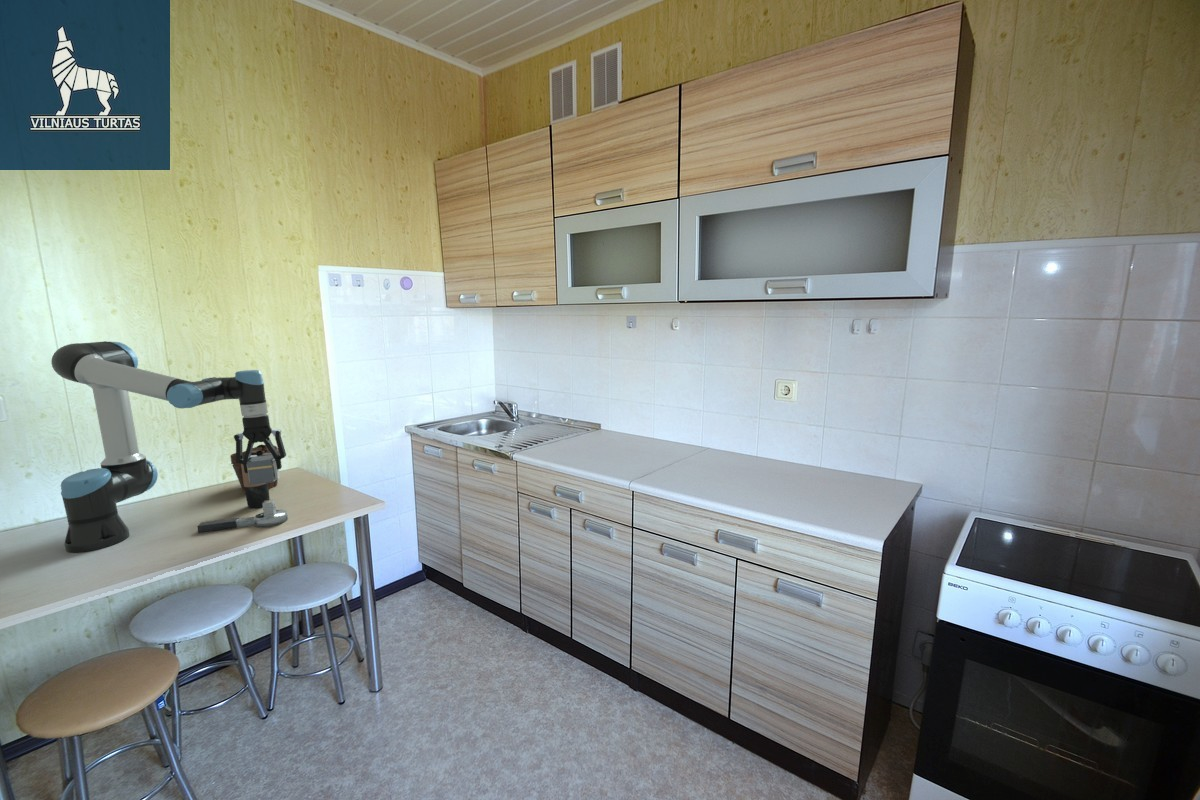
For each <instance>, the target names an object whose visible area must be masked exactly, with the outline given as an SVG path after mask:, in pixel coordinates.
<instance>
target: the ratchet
mask: <svg viewBox="0 0 1200 800" xmlns="http://www.w3.org/2000/svg"><path fill="white" fill-rule="evenodd" d="M262 505H263V507H262V510H263V512H260V513H258V514H255V515H254V516H250V517H249V516H248V517H243V518H240V517H233V518H231V517H230V518H225V519H216V520H210V521H202V522H200V523H199V524H198V525H197V533H198V534H203V533H211V532H217V531H218V532H219V531H224V530H233V529H239V528H243V527H255V528H260V529H262V528H271V527H276V526H278V525H281V524H283V523H285V522H287V521H288V519H289V518H288V512H287V510H286V509H277V507H276V501H275V499H270V500H267V501H264V502H263V503H262Z"/></svg>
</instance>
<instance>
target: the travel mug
mask: <svg viewBox="0 0 1200 800" xmlns="http://www.w3.org/2000/svg"><path fill="white" fill-rule="evenodd" d="M242 456H243V459H244V456H245V455H242ZM258 456H264V454H263V453H251V455H250V459H251V458H252V457H258ZM250 459H249V460H250ZM241 468H242V475H243V483H244V489H245V491H244V494H245V497H246V503H247V508H248V509H253V510H254V509H261V508H263V505H262V503H263V502H264V501H267V500H271V499H270V491H269V490H270V488H269V489H268V483H261V484H253V485H250V482H249V476H248V473H245V472H244V465H243V464H242V463H241Z"/></svg>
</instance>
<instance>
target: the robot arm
mask: <svg viewBox="0 0 1200 800" xmlns="http://www.w3.org/2000/svg"><path fill="white" fill-rule="evenodd" d="M50 362H51V368H52V370H54V372H55V373H56V374H57V375H58V376H60V377H62V378H63V379H65V380H68V381H70V382H71V381H72V382H75V383H80V384H83V385H86V386H88V387H90V388H91V389H92V393H93V399H94V404H95V409H96V414H97V420H98V426H99V430H100V436H101V440H102V446H103V452H104V456H105V458H104V459H103V460H102V461H101V462H100V467H99V468H90V469H87V470H85V471H79V472H76V473H73V474H71V475H68V476H67V477H65V478H64V479H63V480H62V481H61V484H60V491H61V492H60V495H61V497H62V503H63V505H64V510H65V515H66V519H67V522H68V528H67V531H66V536H65V539H64V548H65V551H66V552H68V553H83V552H84V553H85V552H90V551H95V550H99V549H104V548H107V547H110V546H113V545H115V544H118V543H120V542H123V541H124V540H127V539H128V538H129V537H130V530H129V528H128V526H127V524H126V523H125V522H124V520H123V519H122V518H121V516H120V515H119V513H118V512H119V511H118V507H117V506H118V505H117V503H121V502H124V501H126V500H129V499H131V498H134V497H136V496H139V495H142V494H143V493H145V492H148V491H150V490H151V489H152V488H153V487H154V486H155V484H156V483H157V481H158V475H159V474H158V469H157V467H156V466H155V465H154V464H153V462H152V461H150V460H148V459H147V458H146V455H144V454H142V453H141V452H140V449H139V446H138V445H139V444H138V439H137V434H136V428H135V427H136V426H135V423H134V422H135V421H134V418H133V413H132V412H133V411H132V410H133V409H132V406H131V401H130V395H129V392H130V393H134V394H139V395H142V396H147V397H150V398H156V399H158V400H161V401H162V400H163V401H168V403H169V404H170V405H172V406H173V408H177V409H190V408H191V409H192V408H195V407H197V406H201V405H206V404H211V403H215V402H219V401H224V400H225V401H227V400H238V401H239V405H240V413H241V416H242V426H243V431H242V432H240V433H236V434H234V435H233V438H234V441H235V453H236V462H237V463H242V464H243V465H244V472H245V473H248V466H247V462H248V461H249V459H250V455H251V452H252V448H254V445H255V444H257V443H263V445H266V446H267V448H268V449H269V451H270V452H271V454H272V456H273V457H274V459H275V460H274V461H273V465H274V472H275V479H278V480H279V479H280V478H281V475H280V474H281V473H280V470H281V469H282V459H284V458H286V456H287V453H286V450H285V445H284V442H283V439H282V437H281V436H282V429H273V428H272V427H271V424H270V419H269V415H268V412H269V411H268V405H267V399H266V392H265V381H264V378H263V374H262V372H261V371H260V370H259V369H258V370H257V369H250V370H248V369H246V370H245V369H244V370H239V371H236V372H235V373H234V375H235V376H230V377H229V376H228V377H227V376H226V377H216V376H214V377H206V378H202V379H201V380H197V381H189V380H185V379H181V378H178V377H174V376H169V375H167V374H162V373H158V372H153V371H150V370H145V369H141V368H138V366H139V360H138V357H137V354H136V353H135V351H134V350H133V349H132V348H131V347H129V346H128V345H127V344H125V343H123V342H118V341H106V340H104V341H95V342H93V341H92V342H80V343H78V342H77V343H76V342H75V343H70V344H66V345H63V346H61V347H60V348H58V349H57V350H56V351H55V352H54V353H53V355H52V357H51V361H50ZM271 434H272V436H273V437H274V439H275V442H276V447H278V450H279V453H280V455H279V453H278V452H277V450H276V449H275V447H274V446H275V445H274V444H273V442H272V439H271V438H270V436H271ZM244 437H245V438H246V439H247V440H248V441H247V445H246V450H245V451H246V452H245V456H244V459H243V456H242V452H243V439H244ZM248 476H249V473H248ZM249 482H250V479H249Z"/></svg>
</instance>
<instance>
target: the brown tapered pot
mask: <svg viewBox="0 0 1200 800" xmlns="http://www.w3.org/2000/svg"><path fill="white" fill-rule="evenodd" d="M274 447H275V449H276V450H277V452H278V453H279V450H278V446H277V445H274ZM245 452H246V450H245V451H242V455H245ZM251 453H263V454H264V456H267V455H272V454H271V452H270V451H269V449H268V448H267V446H266V445H265V444H259V445H257V446H255V447H253V448H252V452H251ZM279 455H280V453H279ZM229 458H230V461H231V463H230V465H232V468H233V470H234V472H235V473H234V474H235V476H236V477H237V480H238V483H239V486H240V487H241V490H242V491H243V492H245V489H244V483H243V475H242V468H241V463H237V462H236V452H235V453H231V455H230V457H229ZM278 480H279V479H276V480H275V481H274V482H270V483H268V489H269V490H270V489H272V488H274V487H277V486H278V484H279V483H278Z"/></svg>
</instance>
